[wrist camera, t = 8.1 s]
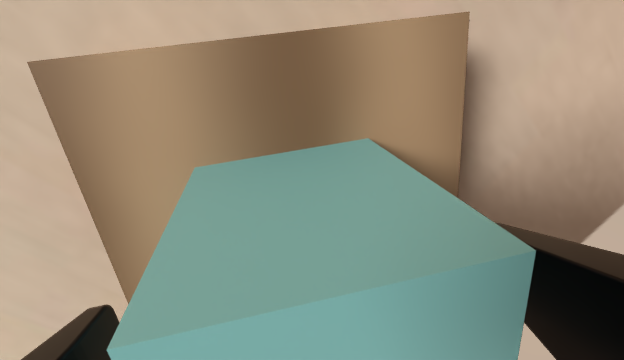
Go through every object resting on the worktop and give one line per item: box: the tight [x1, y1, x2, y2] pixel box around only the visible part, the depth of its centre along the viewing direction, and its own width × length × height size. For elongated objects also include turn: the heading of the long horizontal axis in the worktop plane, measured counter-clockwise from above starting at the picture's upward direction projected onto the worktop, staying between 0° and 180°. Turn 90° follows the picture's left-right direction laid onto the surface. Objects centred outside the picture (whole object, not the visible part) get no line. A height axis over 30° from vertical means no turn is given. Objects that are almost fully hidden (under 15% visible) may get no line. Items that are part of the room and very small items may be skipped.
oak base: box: [27, 12, 470, 304], centre depth 11 cm, size 11×11×3 cm
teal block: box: [107, 138, 536, 360], centre depth 7 cm, size 5×5×6 cm
